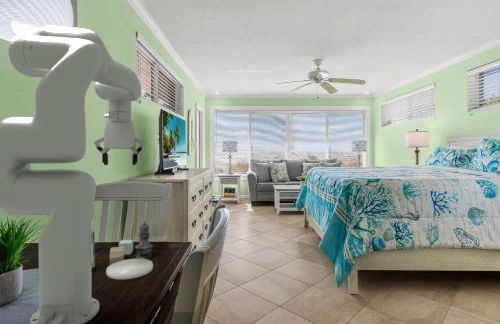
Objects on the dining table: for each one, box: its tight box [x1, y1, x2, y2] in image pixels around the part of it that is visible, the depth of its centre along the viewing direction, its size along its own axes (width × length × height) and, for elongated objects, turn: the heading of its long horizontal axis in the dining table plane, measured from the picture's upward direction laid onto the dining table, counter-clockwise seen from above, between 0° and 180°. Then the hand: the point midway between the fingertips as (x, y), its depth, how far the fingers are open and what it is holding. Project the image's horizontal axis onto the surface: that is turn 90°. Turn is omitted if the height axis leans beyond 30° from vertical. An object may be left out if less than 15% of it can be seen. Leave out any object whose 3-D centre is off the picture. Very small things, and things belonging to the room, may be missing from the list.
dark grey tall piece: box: [134, 221, 154, 260], centre depth 100 cm, size 6×6×12 cm
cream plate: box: [105, 258, 154, 280], centre depth 88 cm, size 13×13×1 cm
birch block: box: [109, 246, 125, 265], centre depth 95 cm, size 4×4×4 cm
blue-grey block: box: [118, 239, 134, 256], centre depth 103 cm, size 4×4×4 cm
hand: (120, 164), depth 106 cm, fingers open, 9 cm apart
